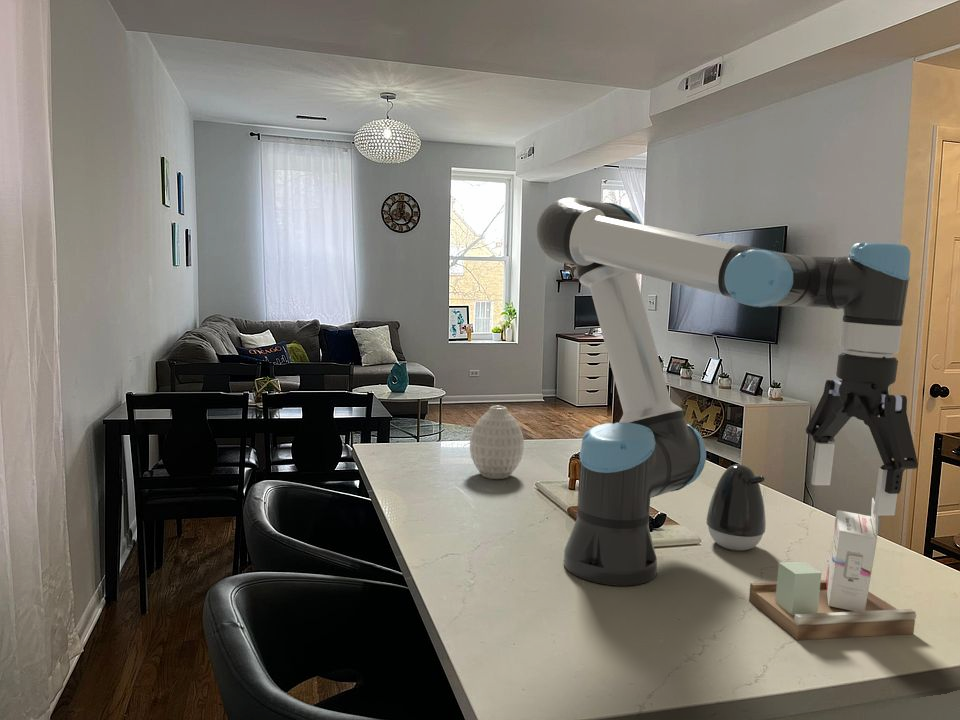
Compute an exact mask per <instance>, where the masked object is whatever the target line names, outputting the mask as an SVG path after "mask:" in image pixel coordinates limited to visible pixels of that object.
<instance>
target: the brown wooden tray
mask: <svg viewBox="0 0 960 720" xmlns="http://www.w3.org/2000/svg"><path fill="white" fill-rule="evenodd" d="M749 586H750V587H749V598H748V601H749V602H750V603H751V604H752V605H753V606H755V608H757V609H758V610H760V611H761V612H762V613H763V614H765V615H766V616H767V617H768V618H769V619H770V620H772V621H773V622H774V623H776V624H777V625H778V626H779V627H780V628H782V629H783V630H784V631H785V632H786V633H787V634H789V635H790V636H791V637H792V638H794V640H796V641H797V640H798V641H804V640H817V639H818V640H819V639H820V640H822V639H839V638H840V639H841V638H843V639H844V638H856V637H875V636H876V637H877V636H880V637H881V636H893V635H896V636H897V635H899V636H900V635H914V633H915V625H916V624H915V623H916V619H917V613H916V611H915V610H914V609H912V608H903V609H902V608H901V609H898V608H896V607H895V606H893V605H892V604H890V603H888V602H886V601H885V600H884V599H881V598H880V597H878V596H876V595H875V594H873V593H872V592H870V591H869V590H868V596H867V602H866V608H865V611H855V612H854V611H850V610H845V609H841V608H836V607H832V606H829V605H828V596H827V584H826V579H823V580H822V579H821V583H820V594H819V604H818V613H812V614H795V615H791V614H789V613H788V612H787V611H785V610H784V609H783V608H782V607H780V606H779V605H778V604H776V603H775V598H776V587H777V581H774V582H773V581H770V582H769V581H768V582H765V581H764V582H750V583H749Z"/></svg>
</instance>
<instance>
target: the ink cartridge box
mask: <svg viewBox="0 0 960 720" xmlns="http://www.w3.org/2000/svg"><path fill="white" fill-rule="evenodd" d="M874 504H875V498H874V497H872V498H871V511H870V513H871V514H870V515H866V514H862V513H855V512H849V511H844V510H840V509H839V510H838V509H837V510H836V513H835V519H834V526H833V533H832V541H831V548H830V553H829V557H828V564H827V569H826V578H825V580H826V584H827V596H828V605H829V606H832V607H836V608H841V609H845V610H850V611H854V612H855V611H865V608H866V602H867V596H868V591H869V589H870V583H871V577H872V572H873V565H874V561H875V555H876V548H877V542H878V532H879V531H878V530H879V516H877V515H875V514H873V511H874Z"/></svg>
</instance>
